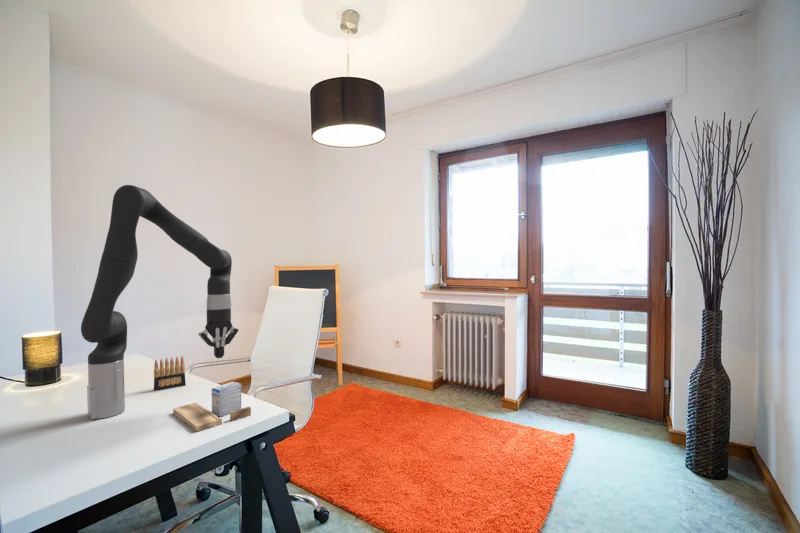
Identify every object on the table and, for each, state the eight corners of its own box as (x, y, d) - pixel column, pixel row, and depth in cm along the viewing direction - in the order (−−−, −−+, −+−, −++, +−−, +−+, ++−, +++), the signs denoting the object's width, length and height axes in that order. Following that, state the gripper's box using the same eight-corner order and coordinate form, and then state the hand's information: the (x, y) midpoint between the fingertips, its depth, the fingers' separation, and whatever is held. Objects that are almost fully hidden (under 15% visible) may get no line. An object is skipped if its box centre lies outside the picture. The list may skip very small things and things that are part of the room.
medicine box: (233, 406, 126) (232, 381, 126) (241, 408, 124) (241, 383, 124) (211, 415, 119) (211, 388, 119) (220, 417, 117) (219, 390, 117)
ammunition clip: (154, 391, 144) (153, 360, 144) (153, 390, 145) (153, 359, 145) (185, 385, 150) (185, 355, 150) (185, 384, 152) (184, 354, 152)
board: (196, 431, 107) (196, 426, 107) (173, 413, 121) (173, 408, 121) (221, 423, 112) (221, 418, 112) (196, 406, 127) (196, 402, 127)
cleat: (231, 420, 114) (231, 413, 114) (230, 419, 115) (230, 412, 115) (250, 414, 119) (250, 407, 119) (249, 413, 120) (249, 406, 120)
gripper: (233, 305, 135) (233, 352, 135) (194, 308, 126) (194, 359, 126) (242, 306, 130) (243, 356, 130) (202, 309, 120) (202, 363, 121)
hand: (219, 357), depth 128 cm, fingers closed
